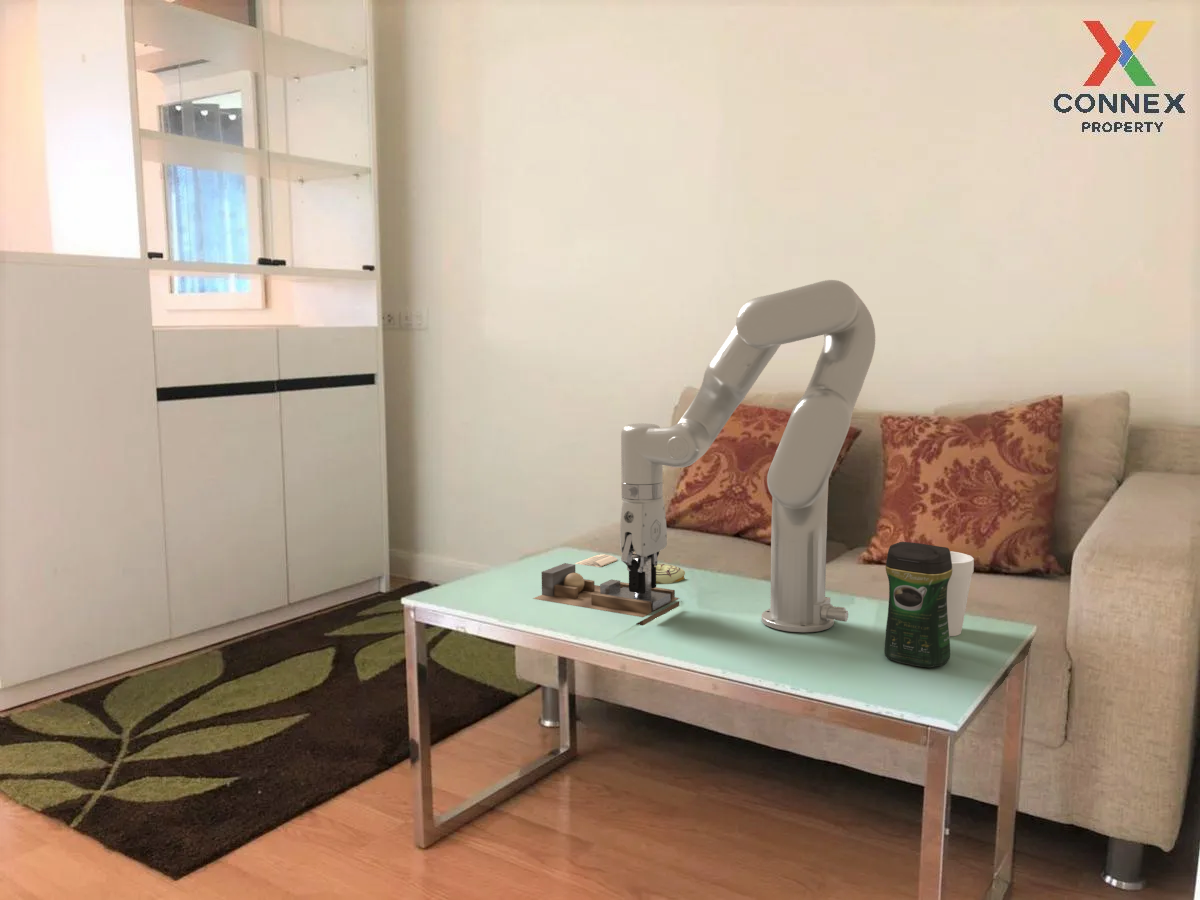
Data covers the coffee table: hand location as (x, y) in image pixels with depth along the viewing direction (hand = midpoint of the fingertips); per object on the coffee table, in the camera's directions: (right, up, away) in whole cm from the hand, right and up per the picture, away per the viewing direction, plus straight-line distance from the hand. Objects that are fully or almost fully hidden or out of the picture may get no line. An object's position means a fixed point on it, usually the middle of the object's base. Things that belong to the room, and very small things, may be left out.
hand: (642, 588), depth 181 cm
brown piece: (-7, -4, +5) cm, 9 cm away
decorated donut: (+4, -2, +20) cm, 21 cm away
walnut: (-13, -2, +8) cm, 15 cm away
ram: (-2, -3, +1) cm, 3 cm away
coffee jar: (+42, -8, -27) cm, 50 cm away
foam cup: (+51, -6, -12) cm, 53 cm away
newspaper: (-12, -1, +32) cm, 35 cm away
